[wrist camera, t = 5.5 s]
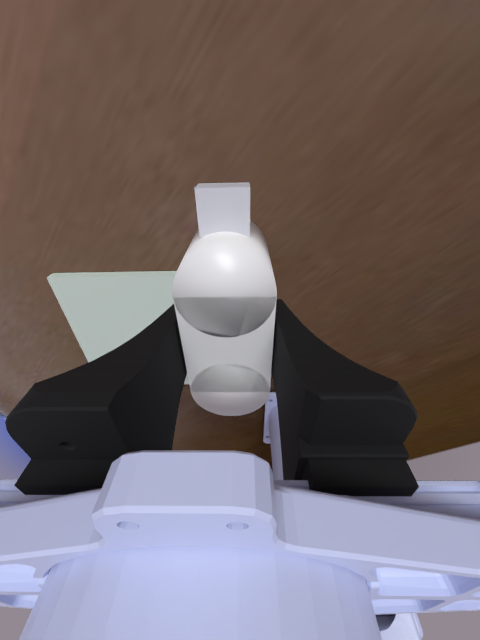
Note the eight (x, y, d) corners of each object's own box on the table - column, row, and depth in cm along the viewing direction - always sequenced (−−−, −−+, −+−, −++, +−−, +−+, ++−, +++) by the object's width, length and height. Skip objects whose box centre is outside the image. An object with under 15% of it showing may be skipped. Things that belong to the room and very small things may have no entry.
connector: (262, 359, 16) (267, 415, 13) (204, 359, 16) (195, 416, 13) (271, 176, 10) (284, 194, 7) (181, 178, 11) (153, 197, 7)
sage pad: (198, 378, 27) (197, 384, 26) (102, 378, 27) (99, 384, 27) (180, 270, 20) (178, 275, 19) (52, 273, 20) (46, 277, 20)
